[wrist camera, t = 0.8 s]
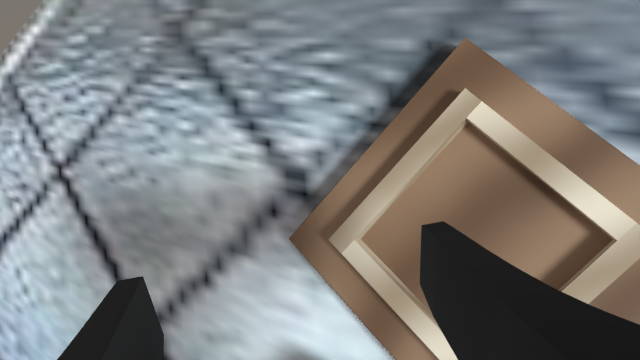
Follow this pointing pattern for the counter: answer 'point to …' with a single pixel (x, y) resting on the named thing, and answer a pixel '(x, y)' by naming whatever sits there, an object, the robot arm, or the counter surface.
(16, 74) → the counter surface
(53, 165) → the counter surface
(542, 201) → the base board
